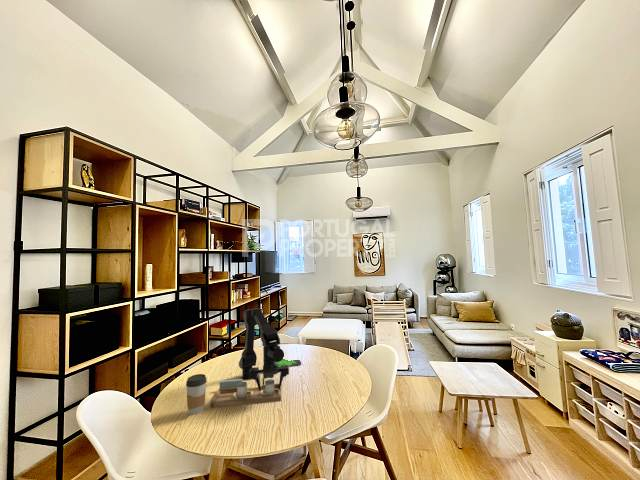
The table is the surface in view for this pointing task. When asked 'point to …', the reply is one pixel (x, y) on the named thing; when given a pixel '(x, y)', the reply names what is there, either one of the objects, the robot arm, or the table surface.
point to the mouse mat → (288, 363)
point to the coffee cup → (196, 393)
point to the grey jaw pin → (269, 387)
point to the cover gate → (229, 383)
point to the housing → (253, 396)
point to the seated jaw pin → (242, 390)
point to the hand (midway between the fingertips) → (269, 389)
